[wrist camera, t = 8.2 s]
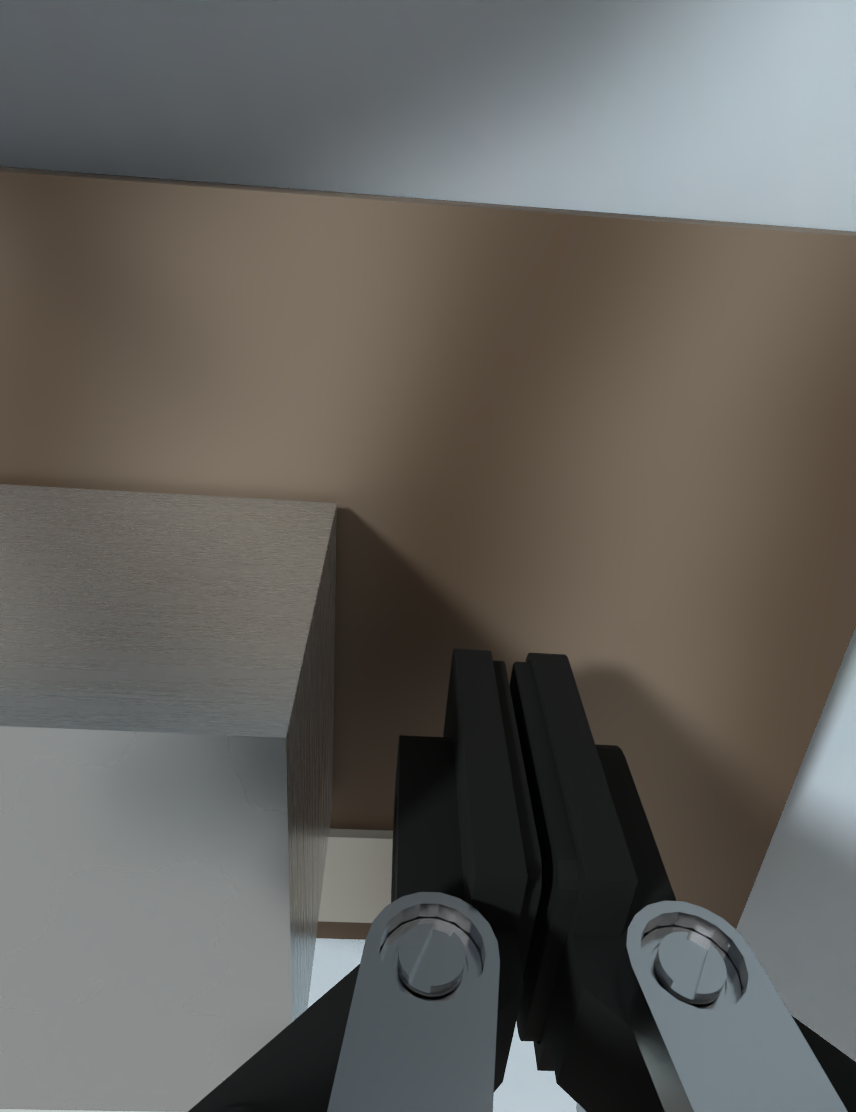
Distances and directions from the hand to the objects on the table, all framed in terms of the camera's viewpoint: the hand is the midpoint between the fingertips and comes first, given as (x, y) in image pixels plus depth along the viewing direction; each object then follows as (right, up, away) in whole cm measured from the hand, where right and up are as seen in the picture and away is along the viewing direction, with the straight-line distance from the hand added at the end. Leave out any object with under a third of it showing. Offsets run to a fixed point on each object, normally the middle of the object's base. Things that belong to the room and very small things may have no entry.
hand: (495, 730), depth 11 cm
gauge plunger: (-8, +1, +1) cm, 8 cm away
